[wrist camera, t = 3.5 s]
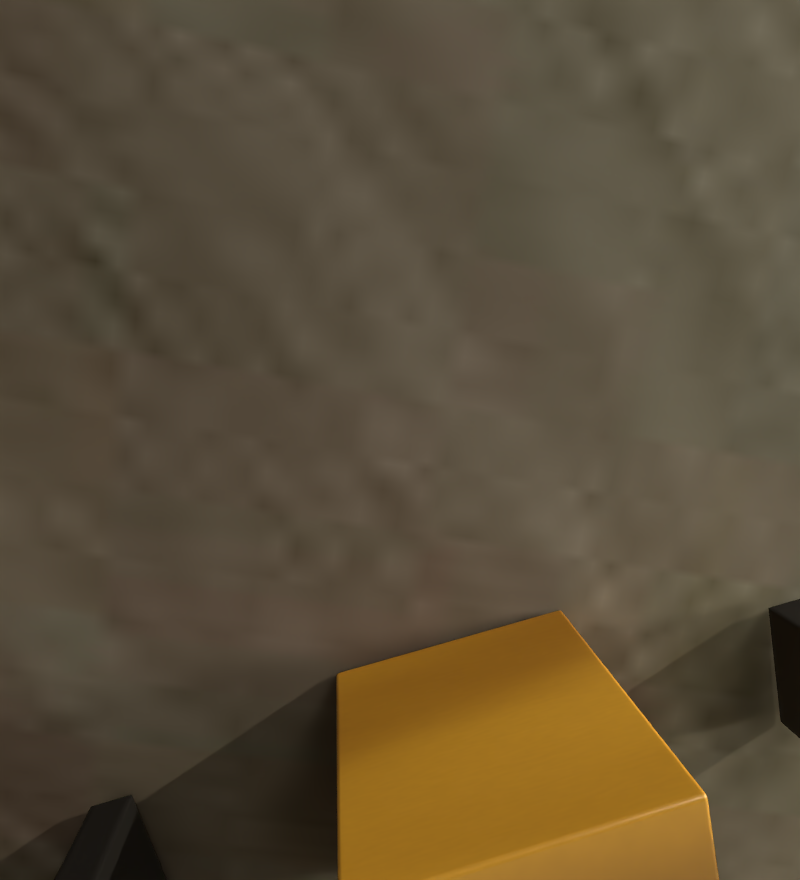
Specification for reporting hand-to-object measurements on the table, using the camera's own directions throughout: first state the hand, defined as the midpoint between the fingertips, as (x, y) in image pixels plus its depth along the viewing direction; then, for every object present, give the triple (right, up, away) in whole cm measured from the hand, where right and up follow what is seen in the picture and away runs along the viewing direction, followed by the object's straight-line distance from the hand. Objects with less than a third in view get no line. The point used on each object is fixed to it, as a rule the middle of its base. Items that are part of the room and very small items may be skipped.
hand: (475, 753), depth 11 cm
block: (0, 0, 0) cm, 0 cm away
